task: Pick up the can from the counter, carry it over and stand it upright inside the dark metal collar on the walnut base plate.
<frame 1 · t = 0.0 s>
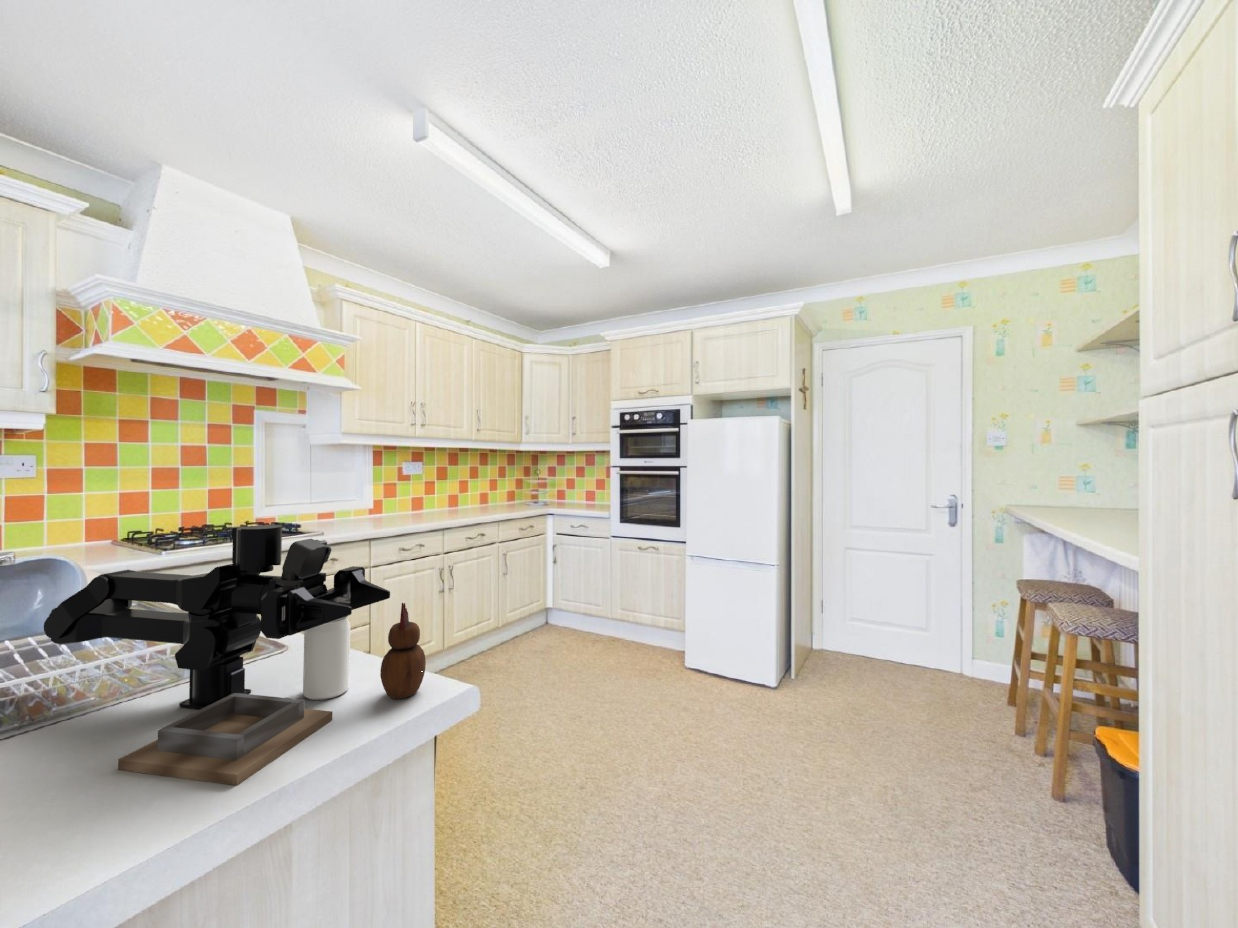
hand: (371, 602, 79), 17 cm above the worktop, tool horizontal, fingers open, 9 cm apart
wooden figurine: (403, 695, 87), on the worktop
holder: (235, 742, 71), on the worktop
can: (326, 693, 87), on the worktop
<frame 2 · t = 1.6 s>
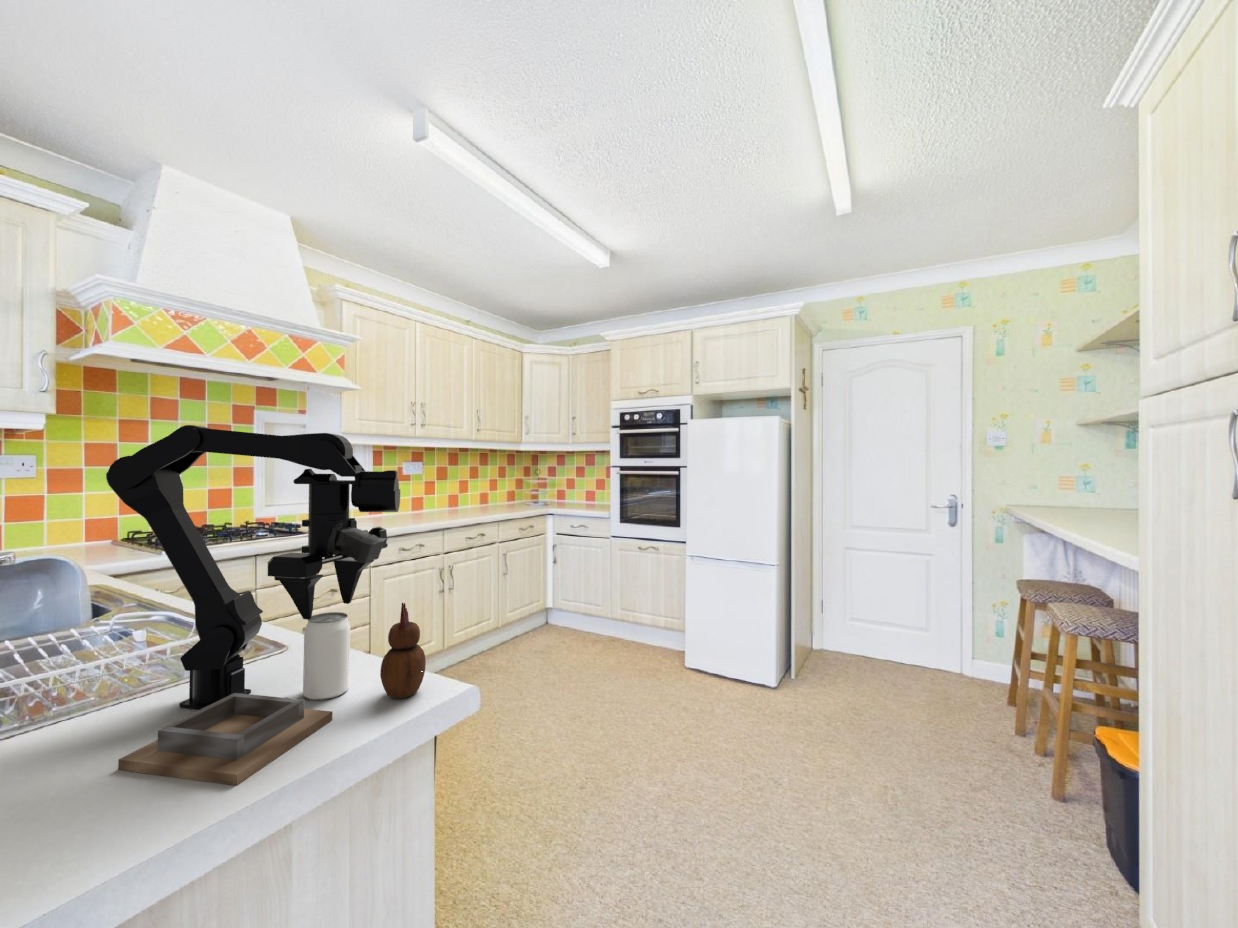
hand: (328, 610, 87), 13 cm above the worktop, tool pointing down, fingers open, 9 cm apart
nothing on the worktop moved.
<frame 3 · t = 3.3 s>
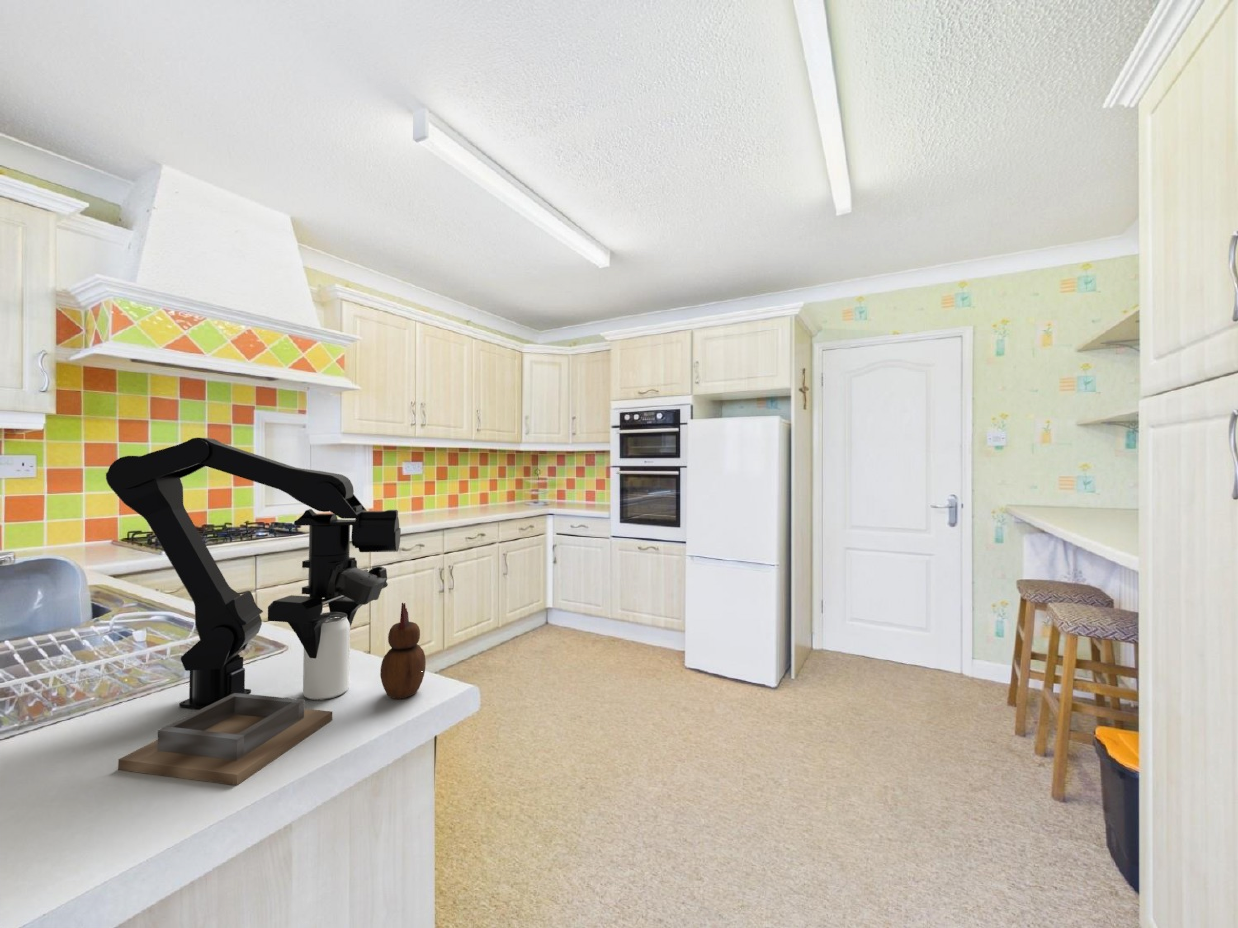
hand: (327, 650, 87), 7 cm above the worktop, tool pointing down, fingers closed on can, 6 cm apart
can: (326, 693, 87), on the worktop, touching gripper
everything else where it was.
when the fingers open (9 cm above the worktop, at t = 9.2 s): can stays where it is, resting on holder.
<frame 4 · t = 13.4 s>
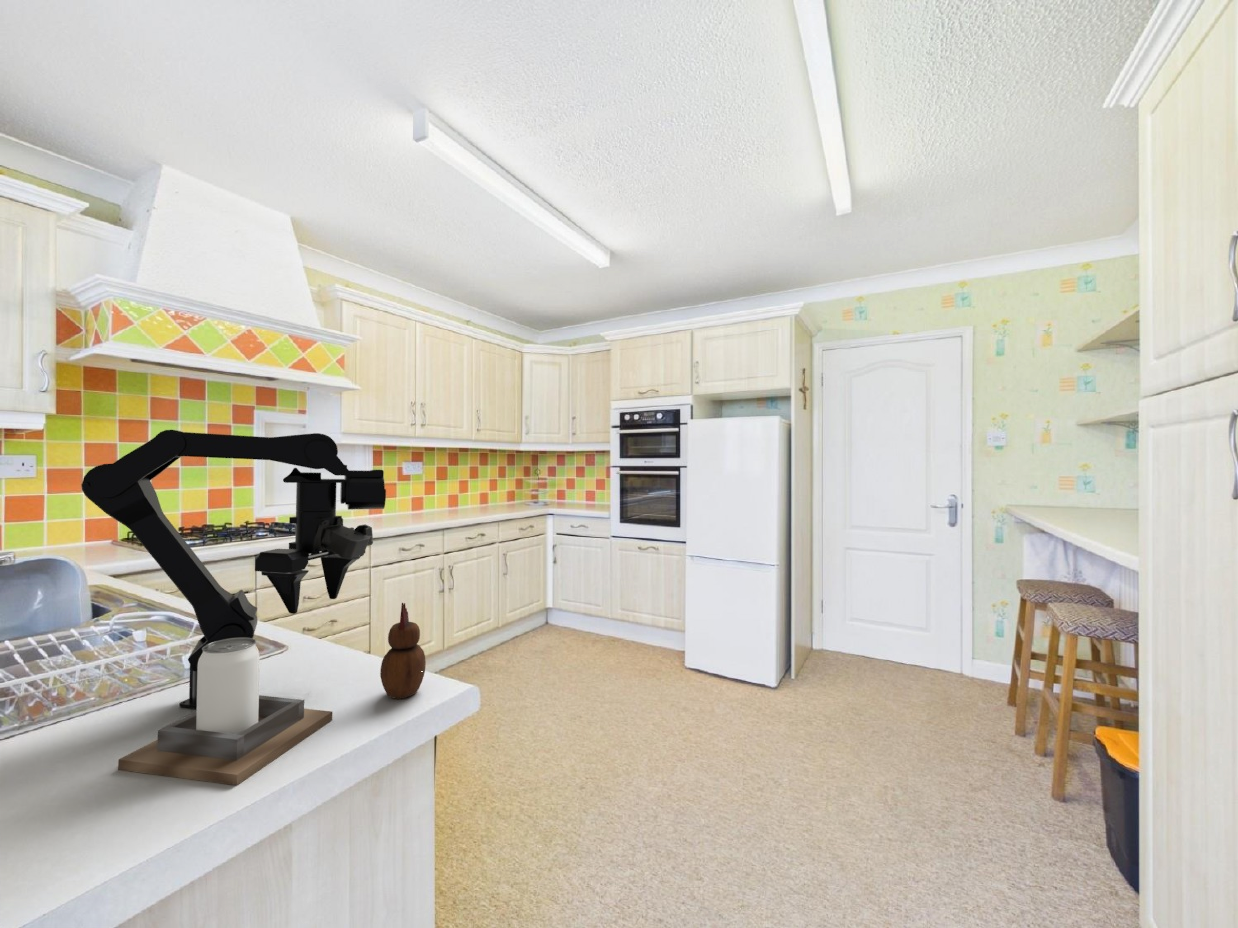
hand: (314, 605, 89), 13 cm above the worktop, tool pointing down, fingers open, 9 cm apart
can: (227, 739, 70), point 1 cm above the worktop, touching holder
everything else where it was.
at the end: can 1.2 cm off-centre on the holder, point 1.0 cm above the holder's base; can tilted 0°; the gripper is holding nothing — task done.
